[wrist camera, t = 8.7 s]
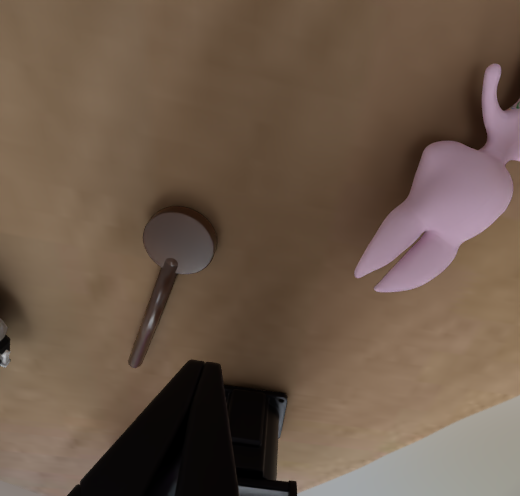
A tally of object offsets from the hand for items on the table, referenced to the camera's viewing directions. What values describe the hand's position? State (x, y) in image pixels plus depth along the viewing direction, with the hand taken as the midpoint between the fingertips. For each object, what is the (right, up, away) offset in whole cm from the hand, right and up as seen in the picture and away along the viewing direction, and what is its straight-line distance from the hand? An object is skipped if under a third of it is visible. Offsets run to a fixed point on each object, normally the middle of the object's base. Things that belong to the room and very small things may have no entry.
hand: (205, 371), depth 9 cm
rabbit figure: (+12, +8, +8) cm, 16 cm away
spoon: (-6, 0, +15) cm, 16 cm away
